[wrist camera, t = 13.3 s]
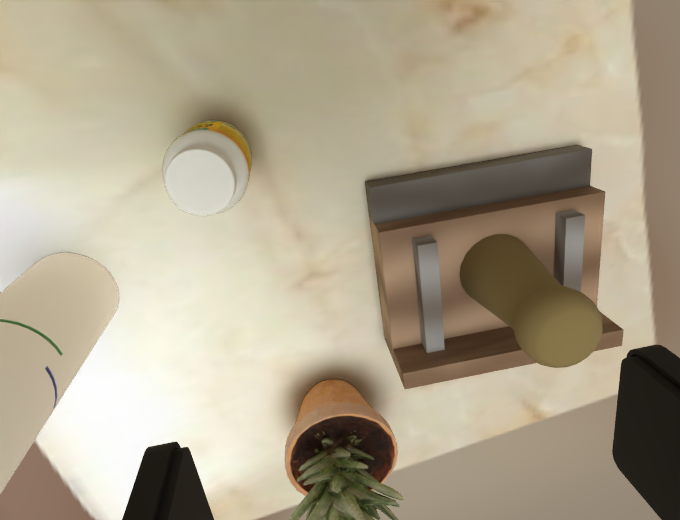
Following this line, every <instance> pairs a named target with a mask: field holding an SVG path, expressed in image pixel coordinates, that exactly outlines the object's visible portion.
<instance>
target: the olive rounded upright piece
mask: <svg viewBox="0 0 680 520" xmlns="http://www.w3.org/2000/svg"><path fill="white" fill-rule="evenodd" d="M459 276H460V281H461V285H462V287H463V289H464V290H465V292H466V293H467V294H468V295H469V296H470V297H472V298H473V299H474V300H476V301H477V302H478V303H480V304H481V305H482V306H483V307H485V308H486V309H487V310H489V311H490V312H491V313H493V314H494V315H495V316H497V317H498V318H499V319H500V320H502V321H503V322H504V323H506V324H507V325H508V326H510V327H511V328H512V329H514V333H515V337H516V340H517V342H518V344H519V345H520V347H521V349H522V350H523V351H524V353H525V354H526V355H527V356H528V357H530V358H531V359H533V360H534V361H536V362H537V363H539V364H541V365H545V366H549V367H554V368H560V367H569V366H572V365H575V364H577V363H579V362H581V361H582V360H584V359H586V358H587V357H588V356H589V355H590V354H591V353H592V352H593V351H594V350H595V348H596V347H597V345H598V343H599V342H600V340H601V336H602V332H603V328H602V316H601V314H600V312H599V310H598V308H597V306H596V305H595V303H594V302H593V301H592V300H591V299H589V298H588V297H587V296H586V295H584V294H583V293H582V292H580V291H578V290H575V289H572V288H569V287H565V286H561V285H560V283H559V282H558V281H557V280H556V279H555V278H554V276H553V275H552V274H551V273H550V272H549V271H548V270H547V268H546V267H545V266H544V265H543V264H542V263H541V261H540V260H539V259H538V258H537V257H536V256H535V254H534V253H533V252H532V251H531V250H530V249H529V248H528V246H527V245H526V244H525V243H524V242H522V241H521V240H520V239H519V238H517V237H515V236H512V235H509V234H494V235H491V236H488V237H485V238H483V239H482V240H480V241H479V242H477V243H476V244H474V245H473V246H472V247H471V248H470V250H469V251H468V252H467V253H466V254H465V257H464V259H463V261H462V263H461V267H460V275H459Z"/></svg>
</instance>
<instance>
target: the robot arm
mask: <svg viewBox="0 0 680 520" xmlns="http://www.w3.org/2000/svg"><path fill="white" fill-rule="evenodd" d="M612 451H613V458H614V461H615V463H616V465H617V467H618V468H619V470H620V471H621V472H622V473H623V474H624V476H625V477H626V478H627V479H628V480H629V481H630V483H631V484H632V485H633V486H634V487H635V489H636V490H637V491H638V492H639V493H640V494H641V496H642V497H643V498H644V499H645V500H646V502H647V503H648V504H649V505H650V506H651V507H652V509H653V510H654V511H655V512H656V513H657V515H658V516H659V517H660V518H661V519H662V520H680V358H679V357H677V356H676V355H675V354H673V353H672V352H671V351H669V350H668V349H667V348H665V347H663V346H661V345H652V346H647V347H642V348H637V349H633V350H630V351H629V353H628V354H627V358H625V359H623V360H622V363H621V372H620V381H619V391H618V401H617V411H616V421H615V431H614V440H613V450H612ZM122 520H214V518H213V515H212V513H211V510H210V507H209V504H208V501H207V498H206V495H205V492H204V490H203V487H202V484H201V481H200V478H199V475H198V472H197V470H196V467H195V464H194V461H193V458H192V455H191V452H190V450H189V448H188V447H184V448H180V445H179V444H178V443H177V442H172V443H167V444H162V445H157V446H152V447H148V448H147V449H146V451H145V453H144V456H143V459H142V462H141V465H140V468H139V471H138V474H137V477H136V480H135V483H134V486H133V489H132V492H131V495H130V498H129V501H128V504H127V507H126V510H125V513H124V516H123V519H122Z"/></svg>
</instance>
